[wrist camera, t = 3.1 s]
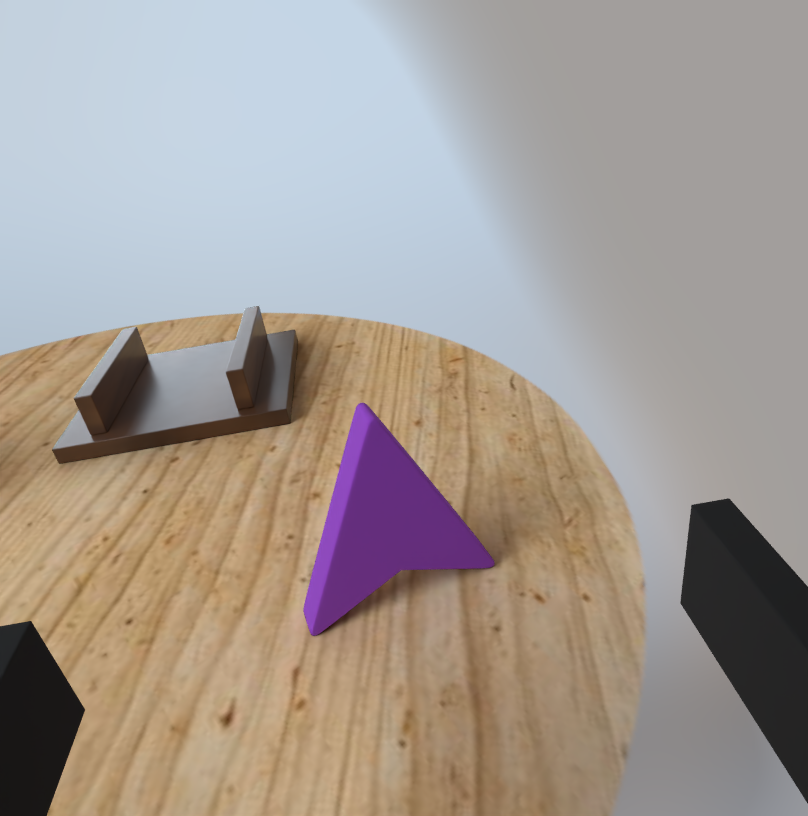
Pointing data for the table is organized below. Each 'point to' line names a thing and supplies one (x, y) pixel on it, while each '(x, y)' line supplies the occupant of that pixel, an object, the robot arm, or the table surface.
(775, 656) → the robot arm
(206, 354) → the rack
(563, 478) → the table surface
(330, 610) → the arrowhead
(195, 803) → the table surface
